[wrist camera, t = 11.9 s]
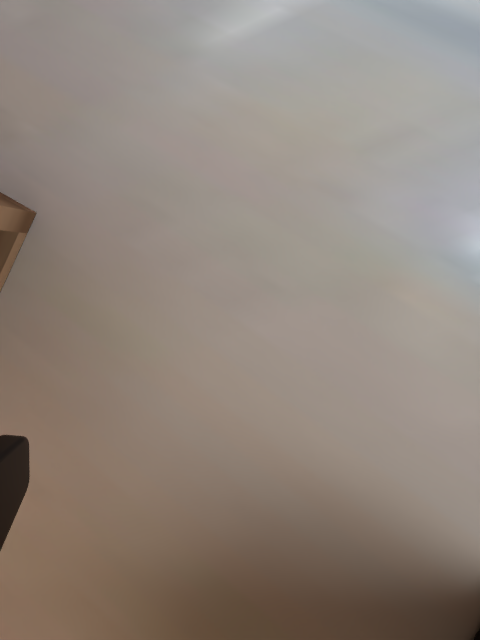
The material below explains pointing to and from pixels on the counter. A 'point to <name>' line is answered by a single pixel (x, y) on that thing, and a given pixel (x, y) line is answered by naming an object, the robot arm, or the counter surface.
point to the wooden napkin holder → (12, 232)
